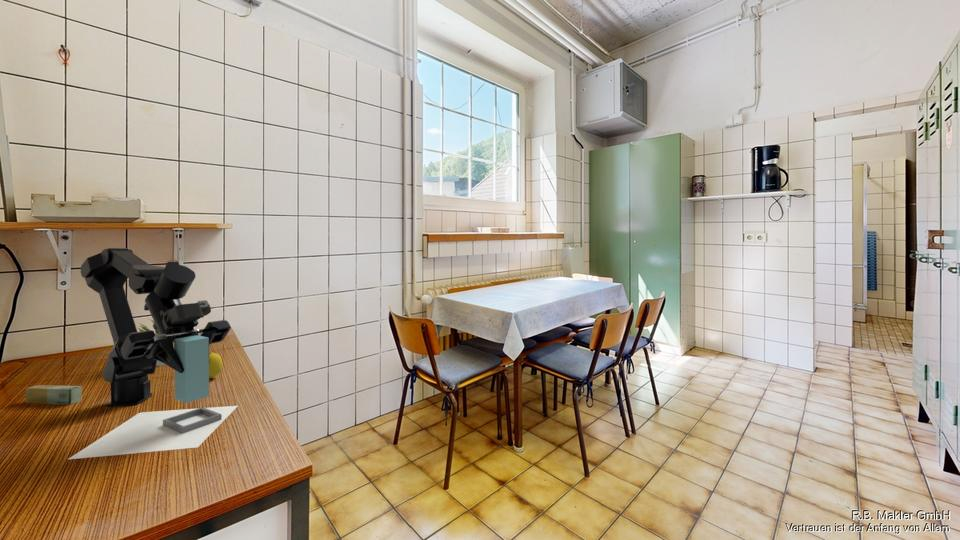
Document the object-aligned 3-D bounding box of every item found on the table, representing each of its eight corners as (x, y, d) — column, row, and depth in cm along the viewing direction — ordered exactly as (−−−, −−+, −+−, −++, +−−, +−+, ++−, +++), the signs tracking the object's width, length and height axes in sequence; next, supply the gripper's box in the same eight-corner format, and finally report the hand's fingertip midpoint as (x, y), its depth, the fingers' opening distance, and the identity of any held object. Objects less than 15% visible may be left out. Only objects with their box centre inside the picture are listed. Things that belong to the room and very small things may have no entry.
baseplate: (67, 464, 66) (67, 459, 66) (139, 416, 86) (139, 412, 86) (197, 452, 71) (197, 447, 71) (238, 409, 91) (238, 405, 91)
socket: (162, 425, 80) (162, 419, 80) (202, 412, 87) (202, 407, 86) (181, 433, 76) (181, 428, 76) (221, 419, 83) (221, 414, 83)
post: (174, 399, 80) (174, 339, 80) (198, 392, 84) (197, 335, 84) (185, 403, 78) (185, 341, 78) (209, 396, 82) (208, 337, 82)
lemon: (207, 375, 115) (207, 349, 114) (226, 375, 115) (226, 349, 115) (195, 381, 109) (195, 354, 109) (215, 381, 109) (215, 354, 109)
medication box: (83, 401, 94) (83, 385, 94) (70, 405, 92) (70, 389, 92) (37, 399, 95) (37, 384, 95) (24, 403, 92) (24, 387, 92)
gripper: (126, 293, 74) (154, 356, 69) (226, 286, 90) (254, 337, 86) (109, 328, 78) (135, 390, 73) (208, 315, 94) (234, 366, 90)
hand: (195, 368), depth 80 cm, fingers closed on post, 4 cm apart
